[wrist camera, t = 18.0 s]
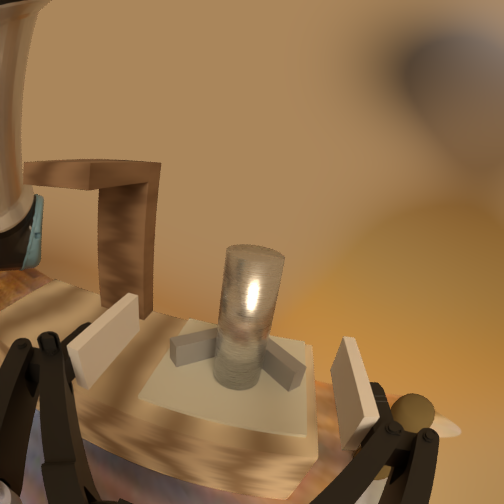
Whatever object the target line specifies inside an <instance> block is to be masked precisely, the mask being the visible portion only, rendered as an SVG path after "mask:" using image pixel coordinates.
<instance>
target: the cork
mask: <svg viewBox="0 0 504 504" xmlns="http://www.w3.org/2000/svg"><path fill="white" fill-rule="evenodd" d="M391 413H392V416H393V419H394V421H397V422H398V423H400V424H401V425H402V427H403V428H404V430H405V431H408V432H413V433H418V432H419V431H420V430H421V429H422V428H429V427H430V426H431V424H432V423H433V420H434V416H435V410H434V406H433V405H432V403H431V402H430V401H429V400H428V399H427V398H425V397H424V396H421V395H418V394H413V393H412V394H407V395H404V396H402V397H400V398H399V399H398V400H397V401H396V402H395V403H394V404H393V406H392V407H391ZM361 449H362V448H361V447H360V448H359V449H358V450H357V451H356V453H355V454H354V457H355V456H356V455H357V454H358V453H359V452H360V450H361ZM353 459H354V458H353ZM390 470H391V466H386V465H384V466H383V467H382V469H381V470H380V472H379V473H378V474H377V476H376V477H375V478H374V480H381V479H385V478H386V477H388V476H389V473H390Z"/></svg>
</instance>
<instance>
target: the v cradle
mask: <svg viewBox="0 0 504 504" xmlns="http://www.w3.org/2000/svg"><path fill="white" fill-rule="evenodd" d="M217 328H218V325H217V324H213V323H208V322H204V321H200V320H196V319H191V318H189V320H188V321H187V323H186V324H185V326H184V327H183V329H182V330H181V331H180V333H179V334H178V336H176V337H171V338H170V348H169V349H168V351H167V352H166V354H165V355H164V357H163V358H162V360H161V361H160V363H159V364H158V366H157V367H156V369H155V370H154V372H153V373H152V375H151V376H150V378H149V379H148V381H147V382H146V384H145V385H144V387H143V388H142V390H141V392H140V393H139V395H138V399H141V400H143V401H146V402H149V403H152V404H155V405H157V406H160V407H163V408H166V409H170V410H173V411H176V412H179V413H182V414H186V415H189V416H193V417H196V418H200V419H204V420H208V421H212V422H216V423H220V424H224V425H229V426H233V427H238V428H243V429H248V430H254V431H260V432H266V433H272V434H279V435H287V436H295V437H305V438H306V436H307V395H306V368H307V367H306V362H305V342H304V341H298V340H292V339H287V338H281V337H276V336H270V335H269V339H268V343H267V348H266V352H265V357H264V361H263V366H262V370H261V375H260V379H259V382H258V383H257V385H255V386H254V387H252V388H250V389H247V390H231V389H228V388H225V387H223V386H222V385H220V384H219V383H218V382H217V381H216V380H215V378H214V376H213V368H214V357H215V347H216V337H217Z"/></svg>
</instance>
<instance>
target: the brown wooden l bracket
mask: <svg viewBox="0 0 504 504" xmlns="http://www.w3.org/2000/svg"><path fill="white" fill-rule="evenodd" d="M160 170H161V163H157V162H144V161H128V160H109V159H77V160H52V161H37V162H36V161H35V162H24V173H23V184H24V185H37V186H49V187H59V188H70V189H80V190H94V189H99V201H98V268H99V285H100V298H101V306H102V307H105V308H107V309H109V308H111V307H112V306H113V305H114V304H115V303H117V302H118V301H119V300H120V299H121V298H123V297H124V296H125V295H126V294H127V293H131V294H135V295H138V305H139V319H141V320H145V319H146V318H147V317H148V316H149V315H150V314H151V312H152V311H153V261H154V239H155V223H156V222H155V221H156V210H157V198H158V187H159V178H160Z"/></svg>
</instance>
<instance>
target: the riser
mask: <svg viewBox="0 0 504 504" xmlns="http://www.w3.org/2000/svg"><path fill="white" fill-rule="evenodd" d="M107 310H108V309H107V308H105V307H102V306H101V298H100V295H99V294H96V293H93V292H90V291H88V290H85V289H82V288H79V287H76V286H73V285H71V284H68V283H65V282H63V281H60V280H57V279H54V280H53V281H51V282H49V283H47V284H45V285H44V286H42V287H40V288H38V289H37V290H35V291H33V292H31V293H30V294H28V295H26V296H24V297H23V298H21V299H19V300H18V301H16V302H14V303H13V304H11V305H9V306H8V307H6V308H5V309H3V310H1V311H0V367H1V365H2V363H3V361H4V359H5V357H6V355H7V353H8V351H9V349H10V347H11V345H12V343H13V342H14V341H15V340H16V339H19V338H27V339H29V340H30V341H31V344H32V347H36V348H39V345H38V342H37V337H38V336H39V335H40V334H41V333H43V332H47V331H53V332H55V333H57V334H58V335H59V339H60V342H61V341H62V340H64V339H65V338H66V337H67V336H68V335H70V334H72V332H73V331H74V330H76V329H77V328H78V327H79V326H80V325H82V324H84V323H87V322H90V323H93V322H94V321H95V320H96V319H98V318H99V317H100V316H101V315H102V314H103V313H105V312H106V311H107ZM187 321H188V320H184V319H180V318H177V317H173V316H169V315H165V314H162V313H158V312H155V311H152V312H151V314H150V315H149V316H148V317H147V318H146V319H145V320H141V319H139V327H140V331H139V332H138V333H137V334H136V335H135V336H134V337H133V339H132V340H131V341H130V342H129V343H128V344H127V345H126V347H125V348H124V349H123V350H122V351H121V352H120V354H119V355H118V356H117V357H116V358H115V359H114V361H113V362H112V363H111V364H110V365H109V366H108V368H107V369H106V370H105V371H104V372H103V374H102V375H101V376H100V377H99V378H98V379H97V381H96V382H95V383H94V384H93V385H92V387H91V388H90V389H89V390H87V389H85V388H83V387H81V386H79V385H78V384H77V381H76V378H74V379H73V380H72V384H73V390H74V398H75V404H76V411H77V417H78V422H79V427H80V432H81V437H82V438H83V439H85V440H87V441H89V442H91V443H93V444H95V445H96V446H98V447H100V448H102V449H104V450H106V451H108V452H111V453H113V454H115V455H117V456H119V457H121V458H124V459H126V460H128V461H131V462H133V463H135V464H138V465H140V466H143V467H145V468H148V469H151V470H153V471H156V472H159V473H162V474H165V475H168V476H171V477H174V478H177V479H180V480H184V481H187V482H190V483H194V484H198V485H202V486H206V487H210V488H214V489H218V490H223V491H228V492H233V493H238V494H244V495H250V496H257V497H265V498H274V499H284V500H287V498H288V497H289V496H290V495H291V494H292V492H293V491H294V490H295V489H296V487H297V486H298V485H299V483H300V482H301V481H302V479H303V478H304V477H305V475H306V474H307V473H308V471H309V470H310V469H311V467H312V466H313V464H314V463H315V461H316V460H317V459H318V433H317V410H316V393H315V378H314V364H313V351H312V346H311V345H306V344H305V362H306V367H307V368H306V395H307V436H306V438H305V437H295V436H287V435H279V434H272V433H266V432H260V431H254V430H248V429H243V428H238V427H233V426H229V425H224V424H220V423H216V422H212V421H208V420H204V419H200V418H196V417H193V416H189V415H186V414H182V413H179V412H176V411H173V410H170V409H166V408H163V407H160V406H157V405H155V404H152V403H149V402H146V401H143V400H141V399H138V395H139V393H140V392H141V390H142V388H143V387H144V385H145V384H146V382H147V381H148V379H149V378H150V376H151V375H152V373H153V372H154V370H155V369H156V367H157V366H158V364H159V363H160V361H161V360H162V358H163V357H164V355H165V354H166V352H167V351H168V349H169V348H170V338H171V337H176V336H178V334H179V333H180V331H181V330H182V329H183V327H184V326H185V324H186V323H187ZM36 409H38V410H39V411H40V402H39V397H38V401H37V405H36Z"/></svg>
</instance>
